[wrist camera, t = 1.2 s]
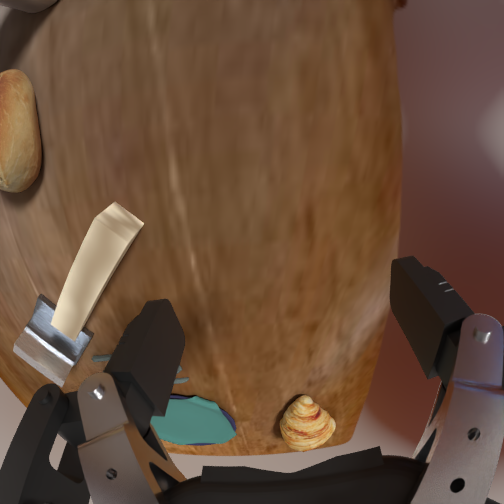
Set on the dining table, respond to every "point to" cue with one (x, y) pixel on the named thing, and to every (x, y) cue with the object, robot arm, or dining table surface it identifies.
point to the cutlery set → (191, 419)
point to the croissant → (306, 425)
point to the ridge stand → (49, 344)
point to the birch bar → (94, 267)
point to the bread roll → (18, 132)
